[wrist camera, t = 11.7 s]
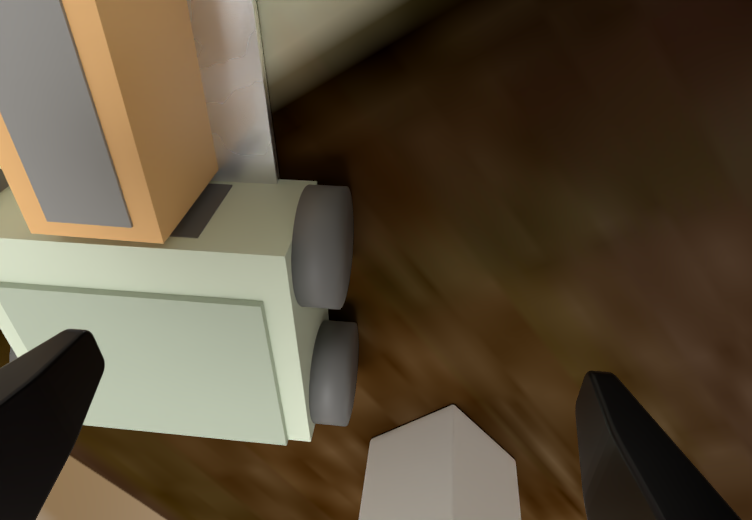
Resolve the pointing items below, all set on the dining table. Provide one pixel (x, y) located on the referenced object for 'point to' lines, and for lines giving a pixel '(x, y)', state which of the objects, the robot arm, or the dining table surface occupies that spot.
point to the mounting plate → (235, 89)
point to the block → (102, 116)
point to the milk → (439, 473)
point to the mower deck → (201, 312)
